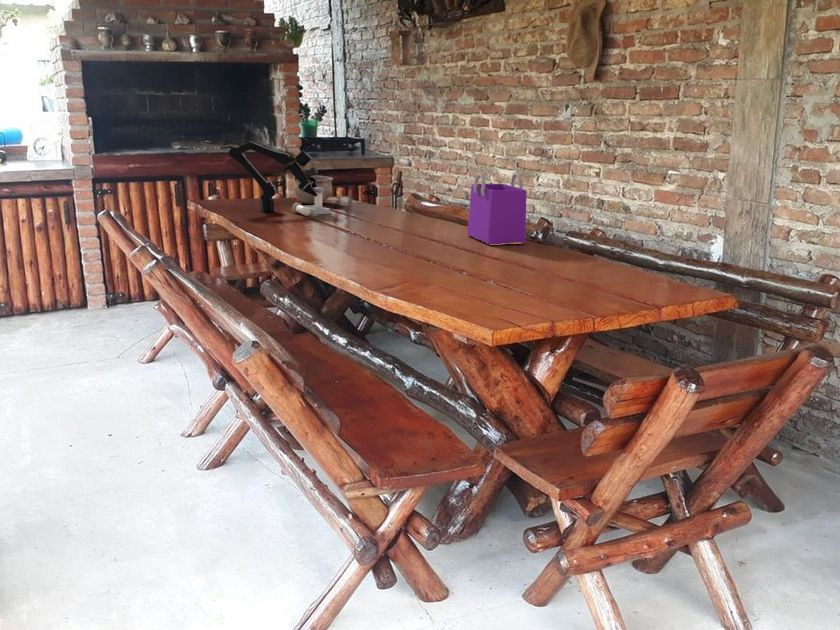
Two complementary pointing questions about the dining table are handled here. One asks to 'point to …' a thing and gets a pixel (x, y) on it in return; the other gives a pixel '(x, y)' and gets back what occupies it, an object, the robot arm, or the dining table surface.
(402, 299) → the dining table surface
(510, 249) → the dining table surface
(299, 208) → the white plastic cylinder
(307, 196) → the ceramic bowl
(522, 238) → the shopping bag
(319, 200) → the translucent upright cylinder
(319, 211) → the housing
